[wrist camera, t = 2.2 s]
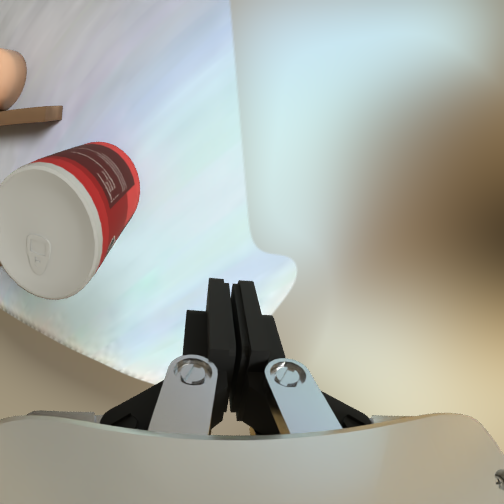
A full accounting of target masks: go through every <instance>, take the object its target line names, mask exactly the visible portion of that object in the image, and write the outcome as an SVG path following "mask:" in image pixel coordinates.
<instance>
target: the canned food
mask: <svg viewBox="0 0 504 504" xmlns="http://www.w3.org/2000/svg"><path fill="white" fill-rule="evenodd" d="M139 195H140V182H139V178H138V173H137V171H136V168H135V166H134V164H133V162H132V161H131V159H130V158H129V157H128V156H127V155H126V154H125V153H124V152H123V151H122V150H121V149H119V148H118V147H116V146H114V145H112V144H109V143H105V142H91V143H87V144H84V145H81V146H77V147H74V148H71V149H68V150H65V151H61V152H58V153H55V154H52V155H50V156H47V157H44V158H41V159H38V160H36V161H34V162H31V163H29V164H26V165H24V166H22V167H20V168H18V169H17V170H16V171H14V172H12V173H11V174H10V175H9V176H7V177H6V178H5V179H4V181H3V182H2V183H1V185H0V262H1V264H2V266H3V268H4V269H5V271H6V272H7V273H8V275H9V276H10V277H11V278H12V279H13V280H14V281H15V282H16V283H17V284H18V285H19V286H20V287H22V288H23V289H24V290H26V291H27V292H29V293H31V294H33V295H35V296H37V297H41V298H45V299H52V300H59V299H64V298H68V297H70V296H73V295H75V294H77V293H78V292H79V291H80V290H82V289H83V288H84V287H85V285H86V284H87V283H88V282H89V281H90V280H91V278H92V277H93V276H94V274H95V273H96V271H97V270H98V268H99V267H100V265H101V264H102V262H103V261H104V259H105V257H106V256H107V254H108V253H109V251H110V249H111V248H112V246H113V245H114V243H115V242H116V240H117V239H118V237H119V236H120V234H121V233H122V231H123V230H124V228H125V227H126V225H127V224H128V222H129V221H130V219H131V218H132V216H133V214H134V212H135V211H136V208H137V205H138V202H139Z"/></svg>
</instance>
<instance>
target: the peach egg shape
mask: <svg viewBox="0 0 504 504" xmlns="http://www.w3.org/2000/svg"><path fill="white" fill-rule="evenodd" d="M26 74H27V68H26V62H25V60H24V58H23V56H22V55H21V54H20V53H19V52H17V51H13V50H8V49H2V48H0V112H1V111H5V110H7V109H8V108H10V107H11V106H12V105H13V104H14V103H15V102H16V101H17V99H18V98H19V96H20V94H21V92H22V90H23V87H24V85H25V81H26Z"/></svg>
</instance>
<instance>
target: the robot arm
mask: <svg viewBox="0 0 504 504" xmlns="http://www.w3.org/2000/svg"><path fill="white" fill-rule="evenodd" d="M228 399H229V401H230V411H231V412H236V416H237V421H243V422H244V423H246V424H247V425H249V426H250V428H249V430H250V436H223V435H222V436H221V435H211V429H212V428H213V427H214V426H216V425H217V424H218V423H219V422H221V421H222V419H223V414H224V412H226V411H227V405H228ZM0 504H504V454H503V453H502V451H501V450H500V448H499V446H498V445H497V444H496V442H495V441H494V439H493V438H492V436H491V435H490V434H489V433H488V431H487V430H486V429H485V428H484V427H483V426H482V424H481V423H480V422H478V421H477V420H476V419H474V418H472V417H470V416H467V415H463V414H456V413H433V414H425V415H419V416H376V415H373V416H372V417H371V418H368V417H367V416H366V415H365V414H363V413H361V412H360V411H358V410H356V409H354V408H352V407H350V406H348V405H346V404H344V403H343V402H341V401H339V400H337V399H335V398H333V397H331V396H329V395H328V394H326V393H324V392H322V391H321V390H320V389H319V387H318V385H317V384H316V382H315V380H314V378H313V377H312V375H311V373H310V371H309V370H308V369H307V367H306V366H304V365H303V364H302V363H300V362H298V361H296V360H293V359H288V358H285V355H284V351H283V348H282V345H281V341H280V338H279V334H278V331H277V328H276V324H275V321H274V318H273V316H272V315H262V314H261V310H260V306H259V302H258V298H257V294H256V290H255V286H254V282H253V281H240V280H239V281H238V284H233V286H232V292H231V298H230V289H229V283H224V279H215V278H209V284H208V294H207V305H206V311H194V310H187V314H186V324H185V335H184V346H183V356H180V357H178V358H176V359H175V360H173V361H172V362H171V364H170V365H169V367H168V370H167V373H166V376H165V379H164V380H163V381H161V382H160V383H158V384H156V385H154V386H152V387H151V388H149V389H147V390H145V391H144V392H142V393H140V394H138V395H137V396H135V397H133V398H131V399H129V400H127V401H125V402H123V403H122V404H120V405H118V406H116V407H114V408H112V409H110V410H109V411H107V412H106V413H105V414H104V415H95V413H94V412H59V411H33V412H31V413H29V414H27V415H24V416H13V417H8V418H4V419H1V420H0Z"/></svg>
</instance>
